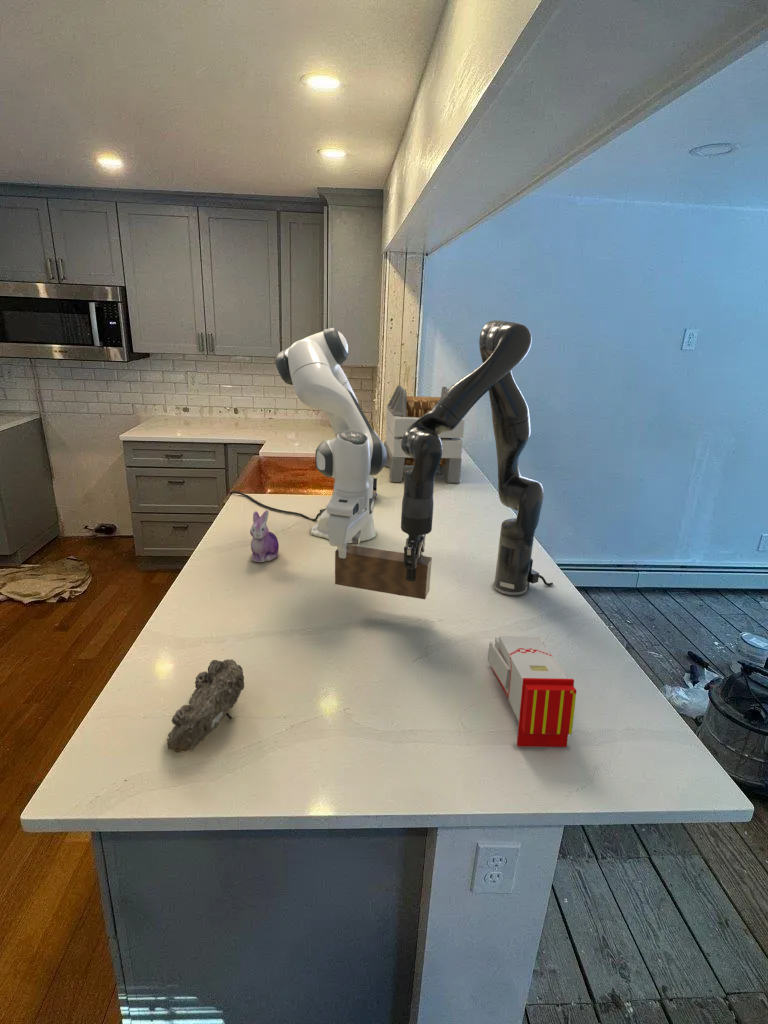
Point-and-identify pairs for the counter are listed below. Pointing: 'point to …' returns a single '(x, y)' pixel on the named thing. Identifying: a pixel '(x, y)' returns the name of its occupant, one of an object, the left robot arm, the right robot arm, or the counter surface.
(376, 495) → the figurine character
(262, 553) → the figurine
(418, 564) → the bar
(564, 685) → the toy
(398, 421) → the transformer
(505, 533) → the right robot arm
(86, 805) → the counter surface
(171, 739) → the fossil
